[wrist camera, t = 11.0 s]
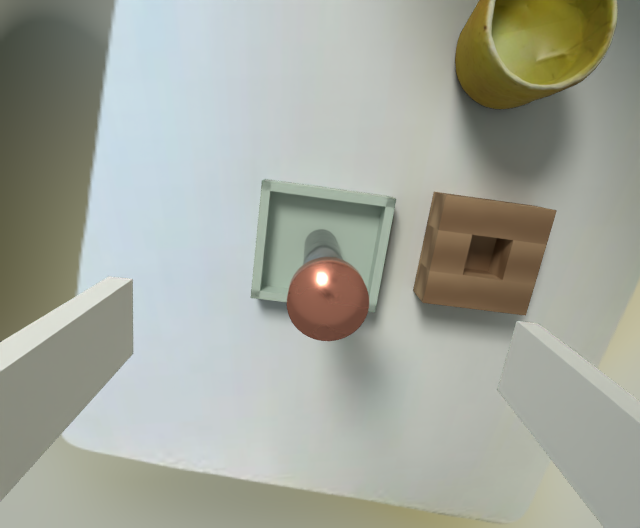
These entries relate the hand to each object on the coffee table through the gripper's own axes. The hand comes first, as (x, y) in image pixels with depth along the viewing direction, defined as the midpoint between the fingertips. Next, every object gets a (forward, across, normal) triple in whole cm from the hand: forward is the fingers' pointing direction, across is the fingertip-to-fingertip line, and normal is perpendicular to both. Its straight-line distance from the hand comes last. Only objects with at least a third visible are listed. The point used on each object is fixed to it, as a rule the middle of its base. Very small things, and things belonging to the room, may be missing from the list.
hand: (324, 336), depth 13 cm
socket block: (+25, +16, -1) cm, 30 cm away
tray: (+25, +1, -3) cm, 25 cm away
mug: (+26, +14, +18) cm, 34 cm away
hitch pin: (+24, +1, -2) cm, 25 cm away
